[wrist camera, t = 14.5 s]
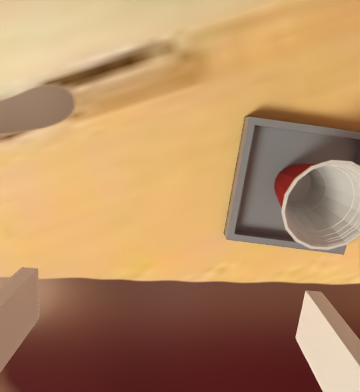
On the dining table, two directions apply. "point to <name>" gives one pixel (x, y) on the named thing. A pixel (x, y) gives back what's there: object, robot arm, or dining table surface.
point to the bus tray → (269, 169)
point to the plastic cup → (320, 203)
